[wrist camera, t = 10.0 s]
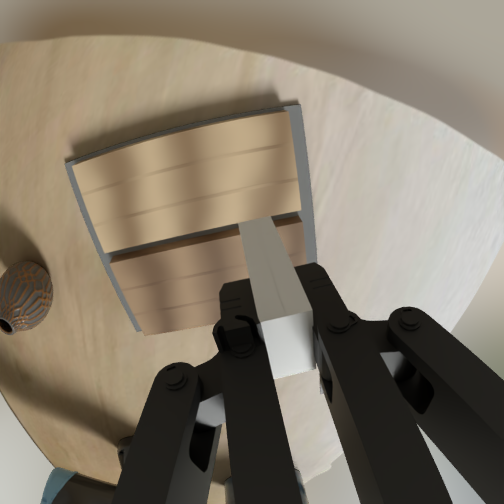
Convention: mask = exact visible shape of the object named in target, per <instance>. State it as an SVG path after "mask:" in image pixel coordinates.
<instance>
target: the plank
mask: <svg viewBox="0 0 504 504" xmlns="http://www.w3.org/2000/svg"><path fill="white" fill-rule="evenodd" d="M72 168H73V171H74V174H75V177H76V180H77V183H78V186H79V189H80V192H81V195H82V198H83V200H84V203H85V206H86V208H87V211H88V214H89V216H90V219H91V221H92V224H93V227H94V229H95V232H96V234H97V236H98V239H99V241H100V244H101V246H102V248H103V251H104V253H109V252H113V251H117V250H121V249H125V248H129V247H133V246H138V245H142V244H146V243H150V242H155V241H159V240H163V239H168V238H172V237H176V236H181V235H185V234H190V233H194V232H199V231H203V230H208V229H213V228H217V227H222V226H226V225H231V224H236V223H240V222H245V221H249V220H254V219H259V218H263V217H268V216H275V215H280V214H285V213H290V212H295V211H300V210H301V201H300V193H299V184H298V176H297V168H296V160H295V153H294V145H293V138H292V131H291V124H290V117H289V111H286V110H282V111H275V112H268V113H262V114H256V115H250V116H245V117H239V118H234V119H229V120H224V121H219V122H214V123H210V124H205V125H201V126H196V127H192V128H188V129H184V130H180V131H176V132H172V133H168V134H164V135H161V136H157V137H154V138H150V139H146V140H143V141H140V142H136V143H133V144H130V145H127V146H123V147H120V148H117V149H114V150H111V151H108V152H105V153H102V154H99V155H96V156H93V157H91V158H88V159H85V160H82V161H80V162H77V163H76V164H75V165H73V166H72Z"/></svg>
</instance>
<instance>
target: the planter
mask: <svg viewBox="0 0 504 504" xmlns="http://www.w3.org/2000/svg"><path fill="white" fill-rule="evenodd" d="M295 473H296V477H297V481H298V485H299V490H300V494H301V498H302V502H303V504H309V502H308V498H307V495H306V491H305V488H304V484H303V480H302V477H301V473H300V472H299V471H298V470H296V469H295ZM224 486H225V501H226V504H235V499H234V491H233V483H232V477H230V478H228V479H227V480H226V481H225V483H224Z"/></svg>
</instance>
